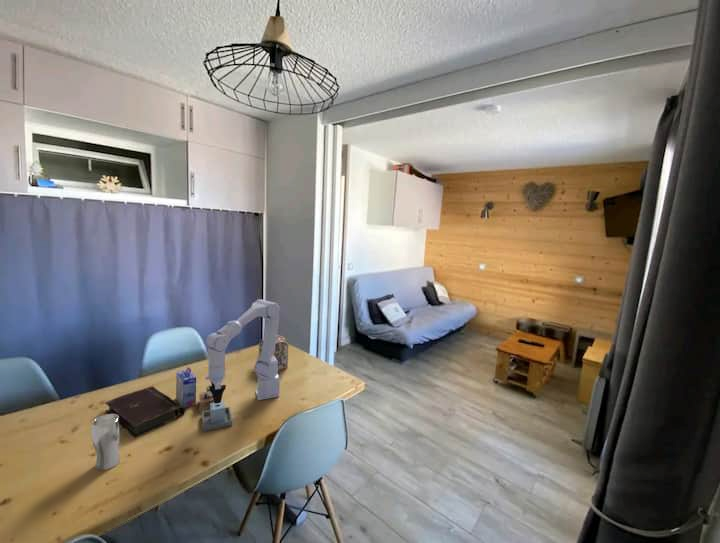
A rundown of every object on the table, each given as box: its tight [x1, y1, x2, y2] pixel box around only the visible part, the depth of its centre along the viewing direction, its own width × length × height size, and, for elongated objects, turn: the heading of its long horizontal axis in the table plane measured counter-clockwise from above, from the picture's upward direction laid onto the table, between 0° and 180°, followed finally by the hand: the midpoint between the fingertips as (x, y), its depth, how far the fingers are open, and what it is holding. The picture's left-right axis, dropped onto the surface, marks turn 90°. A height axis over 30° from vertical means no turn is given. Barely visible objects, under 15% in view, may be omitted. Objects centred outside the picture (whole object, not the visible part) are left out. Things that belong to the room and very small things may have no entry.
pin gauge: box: [205, 384, 213, 399], centre depth 136 cm, size 3×3×8 cm
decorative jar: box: [258, 333, 289, 371], centre depth 173 cm, size 12×12×18 cm
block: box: [209, 400, 226, 424], centre depth 125 cm, size 5×5×6 cm
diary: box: [104, 386, 186, 439], centre depth 127 cm, size 19×25×5 cm
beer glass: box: [91, 413, 121, 472], centre depth 100 cm, size 7×7×15 cm
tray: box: [201, 406, 233, 433], centre depth 125 cm, size 10×10×2 cm
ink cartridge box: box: [175, 366, 197, 408], centre depth 136 cm, size 10×6×14 cm, turn 45°
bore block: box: [198, 391, 214, 413], centre depth 136 cm, size 8×8×4 cm
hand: (216, 397), depth 124 cm, fingers open, 7 cm apart
